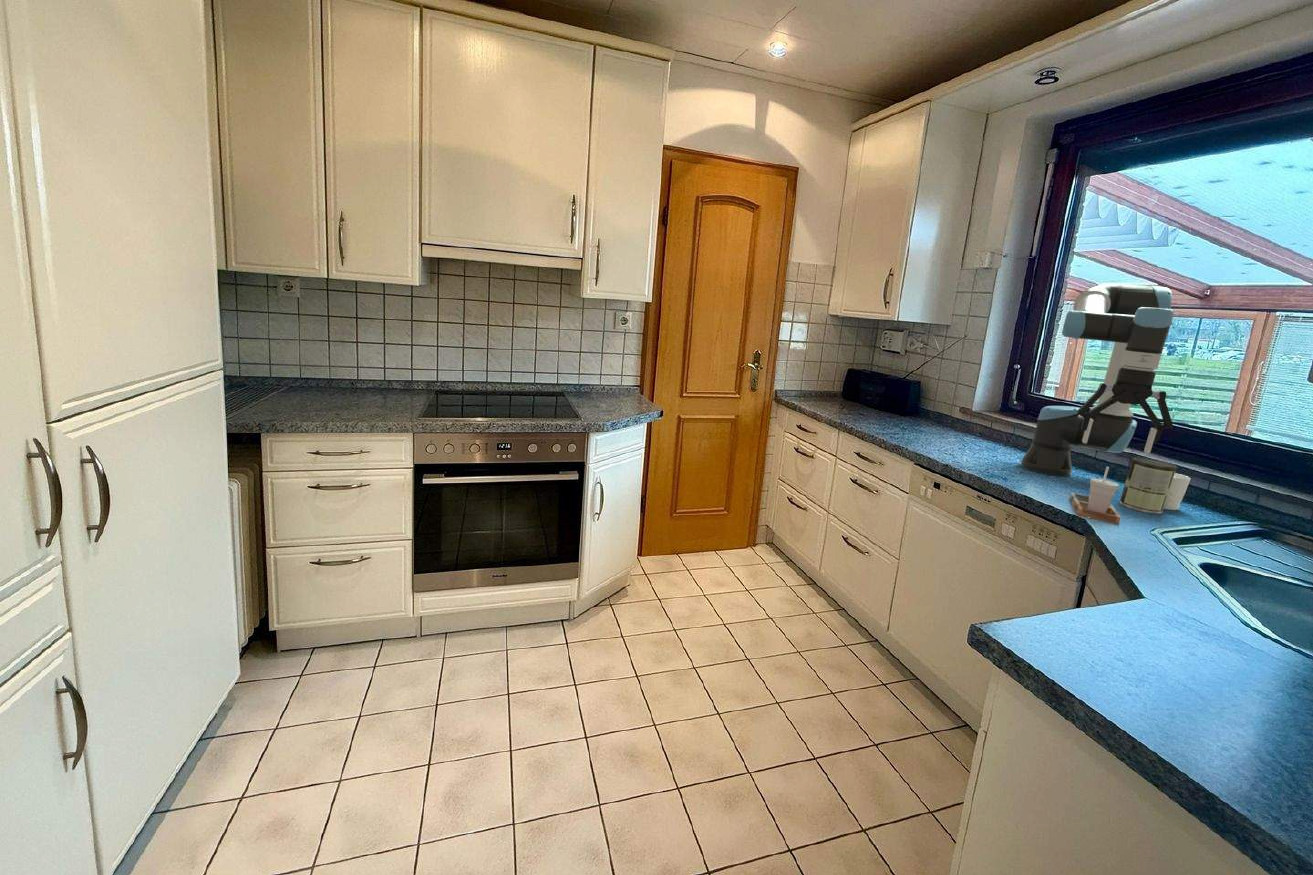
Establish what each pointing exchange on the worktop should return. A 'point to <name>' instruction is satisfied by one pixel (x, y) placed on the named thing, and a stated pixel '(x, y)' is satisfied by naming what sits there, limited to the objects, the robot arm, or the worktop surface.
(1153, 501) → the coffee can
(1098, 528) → the worktop surface
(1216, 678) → the worktop surface
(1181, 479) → the white cup
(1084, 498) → the dock rack
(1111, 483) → the smoothie
